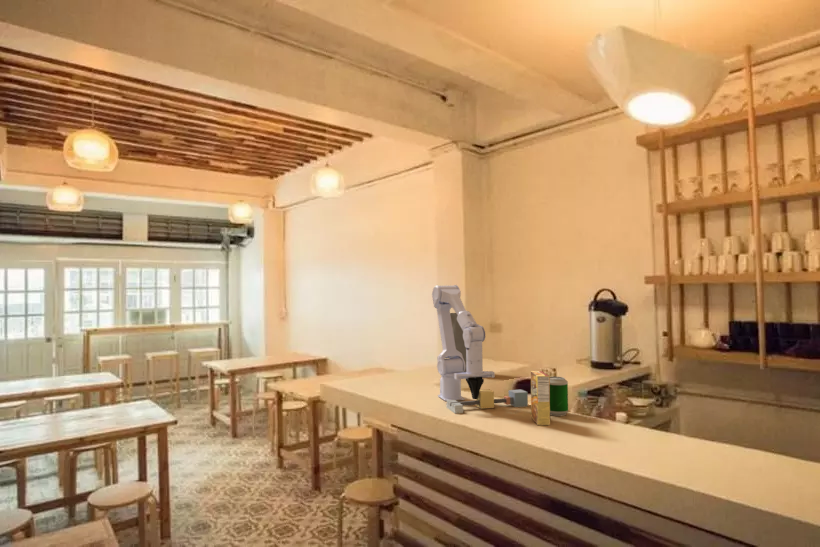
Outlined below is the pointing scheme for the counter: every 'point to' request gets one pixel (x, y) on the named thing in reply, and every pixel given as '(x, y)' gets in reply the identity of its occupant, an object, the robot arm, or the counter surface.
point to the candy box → (540, 397)
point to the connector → (518, 398)
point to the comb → (454, 406)
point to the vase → (458, 336)
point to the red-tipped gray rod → (465, 403)
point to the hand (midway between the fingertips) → (474, 398)
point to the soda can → (558, 396)
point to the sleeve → (486, 398)
